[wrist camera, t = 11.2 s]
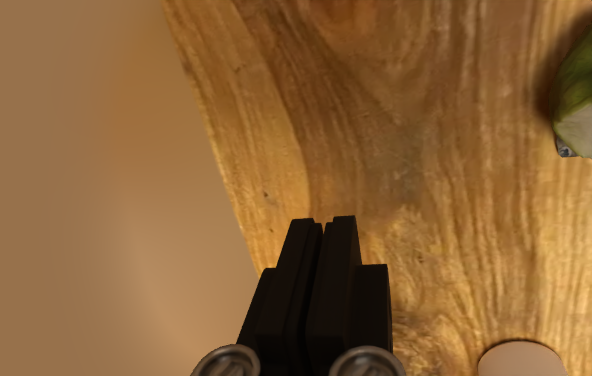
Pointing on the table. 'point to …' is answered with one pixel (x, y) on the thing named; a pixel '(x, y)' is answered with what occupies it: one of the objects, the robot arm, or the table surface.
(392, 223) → the table surface
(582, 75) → the fruit
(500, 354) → the can
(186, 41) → the table surface
